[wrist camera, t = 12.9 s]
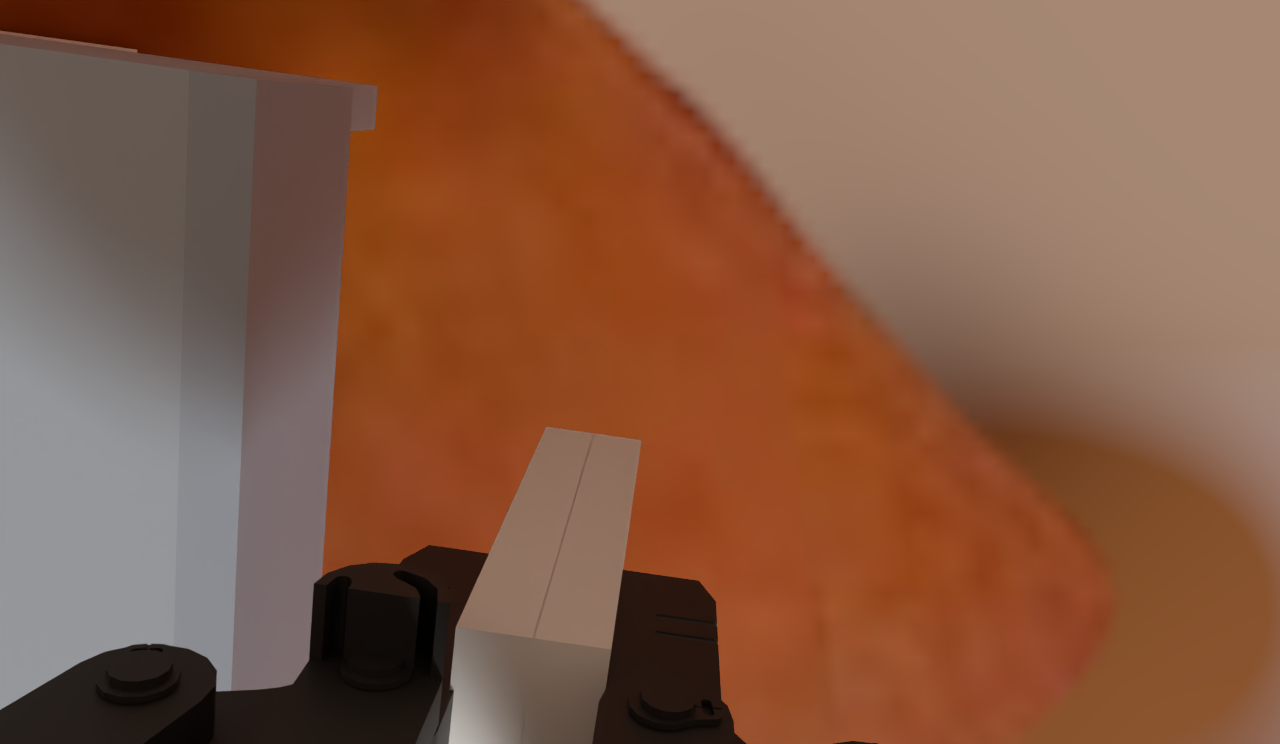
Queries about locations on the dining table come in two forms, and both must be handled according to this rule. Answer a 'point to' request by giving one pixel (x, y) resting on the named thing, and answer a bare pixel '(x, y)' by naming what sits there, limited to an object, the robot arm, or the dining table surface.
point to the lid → (165, 356)
